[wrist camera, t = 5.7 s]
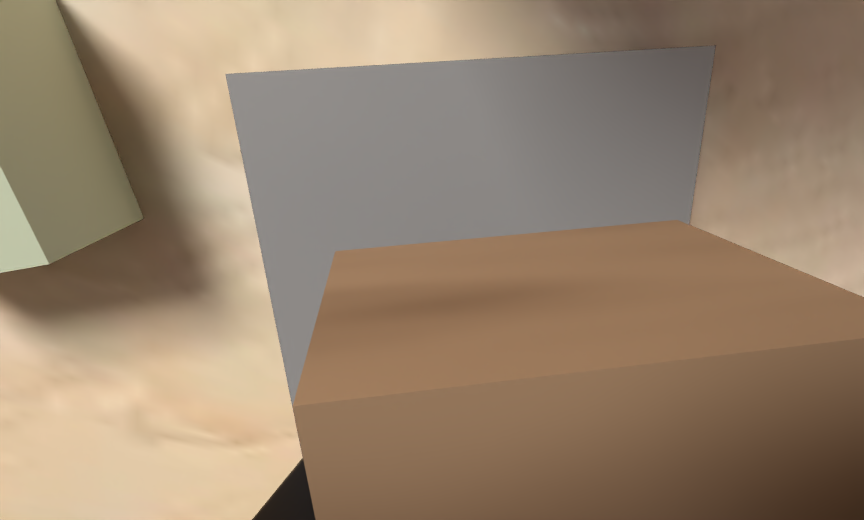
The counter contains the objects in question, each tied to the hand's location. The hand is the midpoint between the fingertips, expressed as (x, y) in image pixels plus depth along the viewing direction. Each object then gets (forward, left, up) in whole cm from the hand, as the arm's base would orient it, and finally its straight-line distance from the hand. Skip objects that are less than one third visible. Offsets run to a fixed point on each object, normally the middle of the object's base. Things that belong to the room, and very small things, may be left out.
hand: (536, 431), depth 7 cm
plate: (0, 0, -8) cm, 8 cm away
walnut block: (0, 0, -1) cm, 1 cm away
